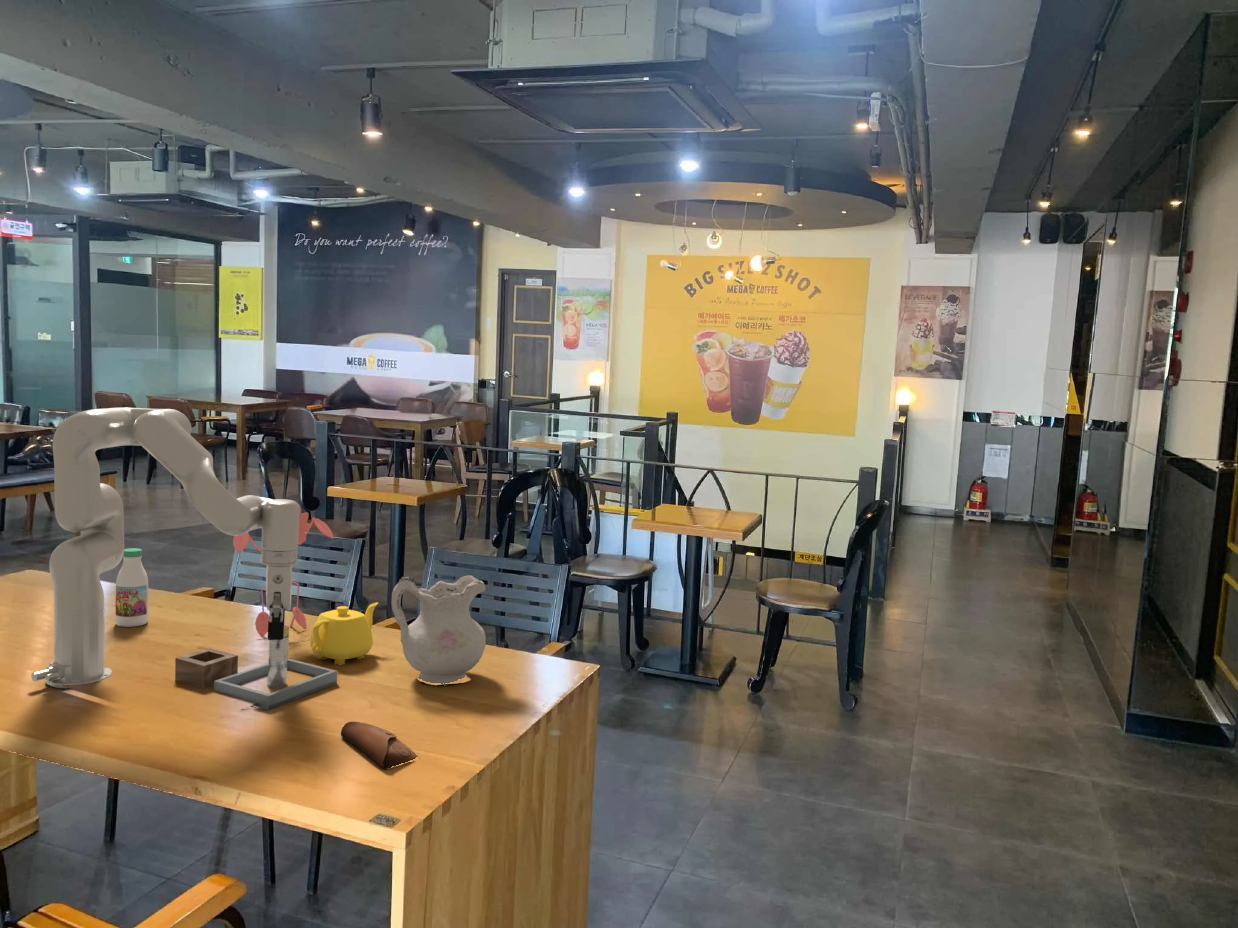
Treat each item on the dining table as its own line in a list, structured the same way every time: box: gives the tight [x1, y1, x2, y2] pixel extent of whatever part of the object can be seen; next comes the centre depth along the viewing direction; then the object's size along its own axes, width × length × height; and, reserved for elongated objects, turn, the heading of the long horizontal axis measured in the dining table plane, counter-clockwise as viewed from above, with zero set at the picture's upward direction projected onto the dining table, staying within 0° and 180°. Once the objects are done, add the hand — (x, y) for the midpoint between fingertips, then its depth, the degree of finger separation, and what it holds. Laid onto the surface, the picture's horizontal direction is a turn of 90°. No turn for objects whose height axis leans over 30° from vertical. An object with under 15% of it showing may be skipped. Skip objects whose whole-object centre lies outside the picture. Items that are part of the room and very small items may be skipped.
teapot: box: [309, 601, 379, 665], centre depth 232 cm, size 14×20×13 cm
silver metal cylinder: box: [266, 624, 290, 689], centre depth 207 cm, size 4×4×13 cm
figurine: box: [232, 503, 335, 644], centre depth 244 cm, size 15×26×35 cm, turn 135°
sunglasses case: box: [340, 721, 419, 770], centre depth 179 cm, size 18×7×7 cm, turn 41°
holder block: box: [174, 647, 239, 689], centre depth 208 cm, size 9×9×6 cm
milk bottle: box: [115, 547, 149, 628], centre depth 248 cm, size 8×8×20 cm
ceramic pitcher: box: [391, 575, 487, 684], centre depth 219 cm, size 22×20×25 cm
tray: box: [213, 658, 338, 711], centre depth 207 cm, size 20×16×3 cm
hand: (276, 632), depth 206 cm, fingers open, 9 cm apart
